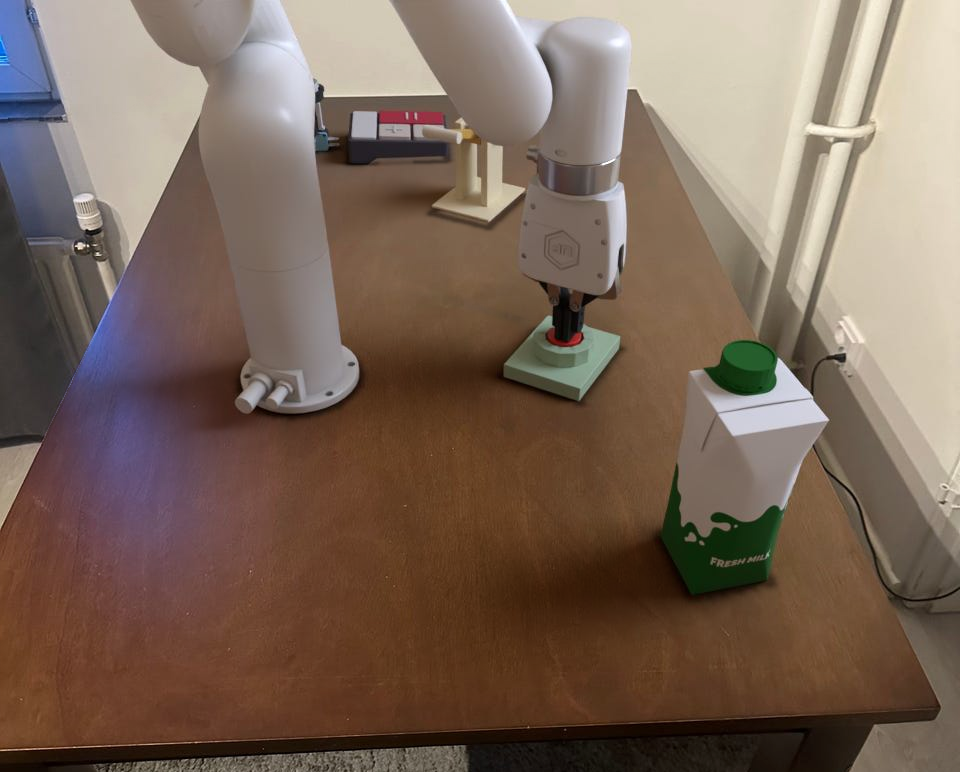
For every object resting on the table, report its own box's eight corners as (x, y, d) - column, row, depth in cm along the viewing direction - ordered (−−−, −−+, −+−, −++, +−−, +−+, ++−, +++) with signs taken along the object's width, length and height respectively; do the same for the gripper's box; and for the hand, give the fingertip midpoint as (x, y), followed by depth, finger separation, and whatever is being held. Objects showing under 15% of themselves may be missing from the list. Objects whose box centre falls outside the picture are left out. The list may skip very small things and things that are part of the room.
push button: (341, 141, 141) (334, 75, 134) (337, 155, 137) (329, 88, 130) (299, 141, 141) (290, 75, 134) (294, 155, 137) (284, 88, 130)
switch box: (578, 401, 94) (581, 374, 91) (503, 377, 97) (503, 350, 94) (619, 348, 100) (622, 322, 98) (547, 327, 104) (548, 301, 101)
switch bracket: (488, 228, 121) (489, 141, 112) (431, 213, 124) (428, 127, 116) (525, 196, 128) (528, 112, 119) (470, 182, 131) (469, 99, 122)
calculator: (448, 137, 133) (347, 135, 132) (448, 165, 136) (349, 163, 135) (445, 109, 141) (350, 106, 140) (444, 136, 144) (351, 134, 143)
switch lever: (455, 148, 110) (458, 128, 108) (420, 140, 111) (423, 120, 110) (498, 146, 120) (501, 127, 118) (466, 139, 121) (468, 120, 120)
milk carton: (736, 514, 82) (789, 329, 68) (782, 588, 75) (852, 401, 61) (646, 530, 80) (681, 344, 66) (686, 607, 74) (734, 420, 60)
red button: (571, 361, 95) (572, 347, 94) (541, 351, 97) (542, 338, 95) (585, 344, 98) (586, 330, 96) (555, 335, 99) (556, 322, 98)
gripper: (489, 167, 83) (489, 333, 96) (639, 202, 78) (618, 372, 91) (525, 138, 88) (520, 300, 101) (668, 169, 83) (644, 335, 96)
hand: (567, 334), depth 96 cm, fingers closed
